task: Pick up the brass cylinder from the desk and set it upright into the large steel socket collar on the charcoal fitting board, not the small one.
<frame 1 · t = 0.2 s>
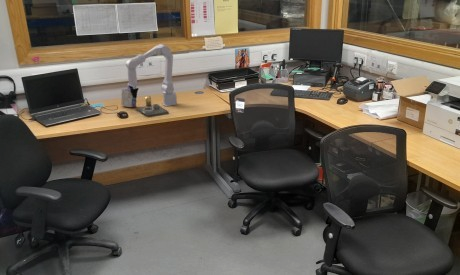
hand: (134, 96, 281), 10 cm above the table, tool pointing down, fingers open, 7 cm apart
ink cartridge box: (128, 106, 291), on the table
brass cylinder: (148, 106, 293), on the table
fitting board: (152, 111, 281), on the table
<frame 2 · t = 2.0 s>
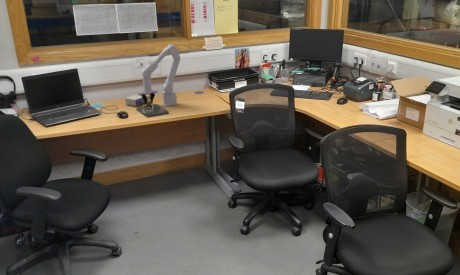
hand: (148, 103, 292), 2 cm above the table, tool pointing down, fingers closed on brass cylinder, 4 cm apart
ink cartridge box: (130, 102, 292), point 3 cm above the table
brass cylinder: (148, 106, 293), on the table, touching gripper
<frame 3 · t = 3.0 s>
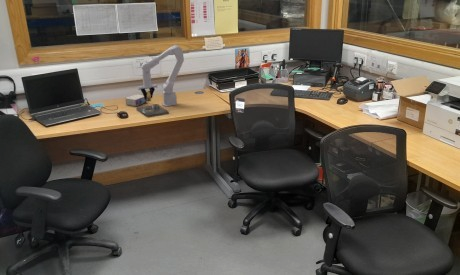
hand: (148, 98, 291), 6 cm above the table, tool pointing down, fingers closed on brass cylinder, 4 cm apart
brass cylinder: (148, 100, 292), point 4 cm above the table, touching gripper
everything else where it was.
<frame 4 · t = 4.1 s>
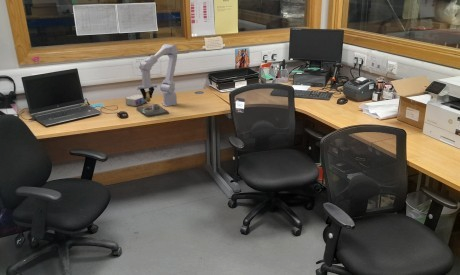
hand: (147, 98, 279), 9 cm above the table, tool pointing down, fingers closed on brass cylinder, 4 cm apart
brass cylinder: (147, 101, 280), point 7 cm above the table, touching gripper
everything else where it was.
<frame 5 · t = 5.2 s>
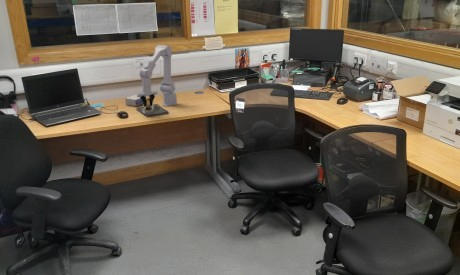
hand: (148, 105, 274), 6 cm above the table, tool pointing down, fingers closed on brass cylinder, 4 cm apart
brass cylinder: (148, 108, 275), point 4 cm above the table, touching gripper
everything else where it was.
when the fingers open (4 cm above the table, at t = 6.3 s): brass cylinder stays where it is, resting on fitting board.
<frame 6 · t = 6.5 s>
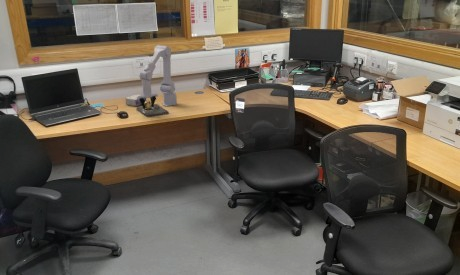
hand: (148, 107, 275), 4 cm above the table, tool pointing down, fingers open, 6 cm apart
brass cylinder: (148, 111, 276), point 2 cm above the table, touching fitting board
everything else where it was.
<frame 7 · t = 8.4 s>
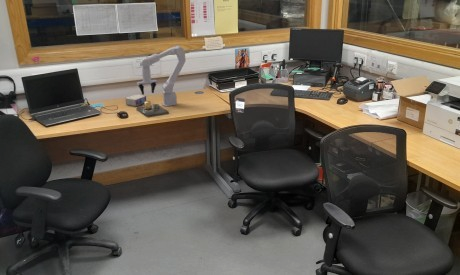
hand: (147, 93, 290), 9 cm above the table, tool pointing down, fingers open, 7 cm apart
nothing on the table moved.
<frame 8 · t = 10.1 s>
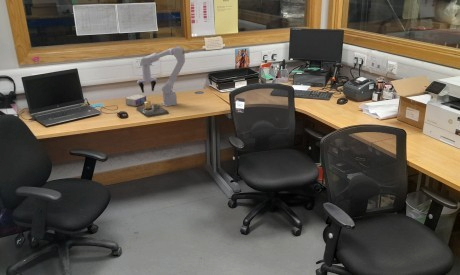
hand: (147, 91, 295), 9 cm above the table, tool pointing down, fingers open, 7 cm apart
nothing on the table moved.
at the end: brass cylinder 0.4 cm from the target spot on the fitting board, point 1.5 cm above the fitting board's base; brass cylinder tilted 0°; the gripper is holding nothing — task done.
